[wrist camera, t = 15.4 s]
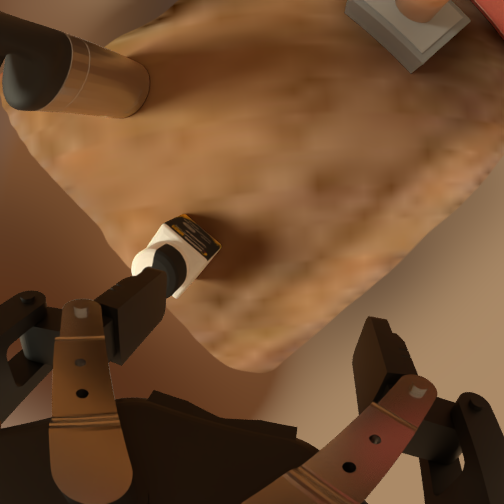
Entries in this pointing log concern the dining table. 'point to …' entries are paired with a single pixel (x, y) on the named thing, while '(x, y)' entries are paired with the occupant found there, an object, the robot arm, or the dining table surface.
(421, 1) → the jar
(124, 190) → the dining table surface
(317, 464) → the robot arm
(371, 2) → the grey lidded square box
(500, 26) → the plant saucer
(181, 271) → the medicine bottle
